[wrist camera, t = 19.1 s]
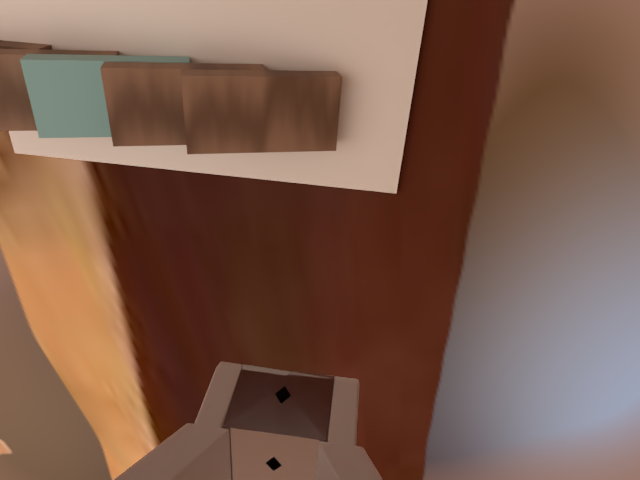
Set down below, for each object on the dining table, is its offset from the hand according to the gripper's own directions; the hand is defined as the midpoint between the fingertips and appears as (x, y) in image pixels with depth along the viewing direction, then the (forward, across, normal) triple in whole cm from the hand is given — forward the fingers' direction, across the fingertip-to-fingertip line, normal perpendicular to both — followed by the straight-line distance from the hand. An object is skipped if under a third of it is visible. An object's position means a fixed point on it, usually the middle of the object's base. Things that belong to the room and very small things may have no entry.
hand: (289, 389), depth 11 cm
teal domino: (+26, +11, +2) cm, 28 cm away
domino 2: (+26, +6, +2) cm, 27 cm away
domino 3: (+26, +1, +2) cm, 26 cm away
